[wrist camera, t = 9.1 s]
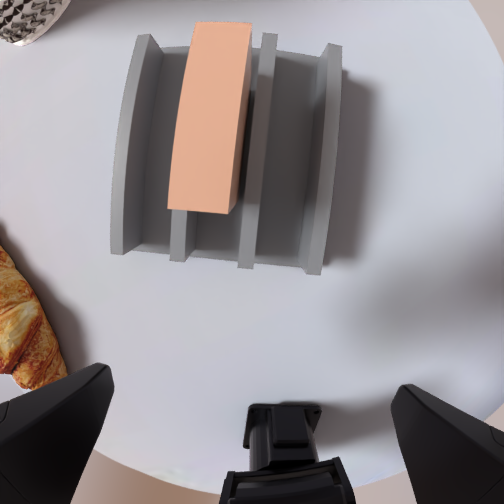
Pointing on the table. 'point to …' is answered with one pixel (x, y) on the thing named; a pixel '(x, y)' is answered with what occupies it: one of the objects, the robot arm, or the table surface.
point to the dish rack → (253, 168)
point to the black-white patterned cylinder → (28, 19)
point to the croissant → (25, 332)
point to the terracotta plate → (212, 119)
